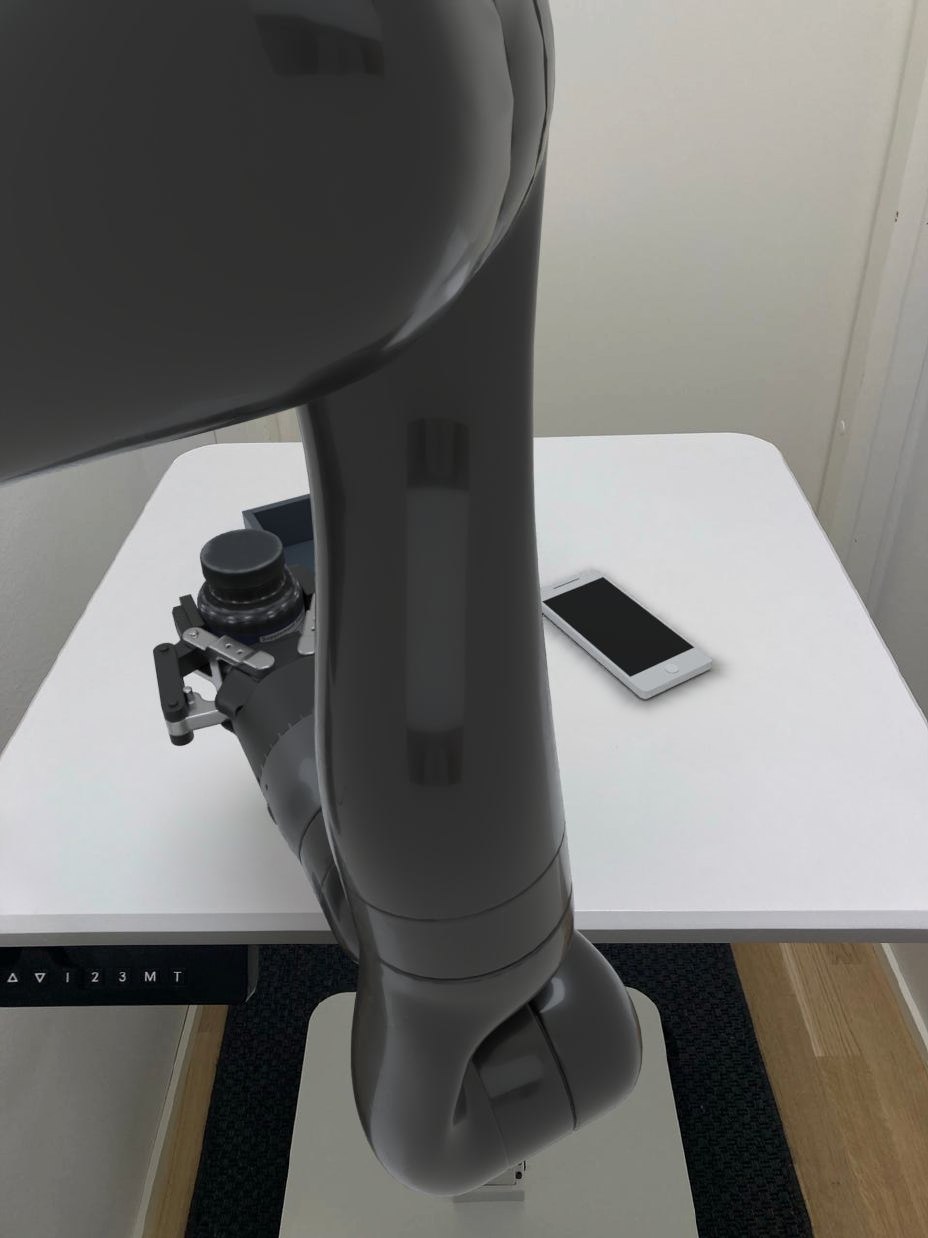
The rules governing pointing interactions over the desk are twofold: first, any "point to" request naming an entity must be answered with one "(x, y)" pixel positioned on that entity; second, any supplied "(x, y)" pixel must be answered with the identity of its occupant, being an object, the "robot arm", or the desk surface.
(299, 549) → the open box
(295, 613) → the pill bottle
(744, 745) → the desk surface
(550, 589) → the smartphone
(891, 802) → the desk surface
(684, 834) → the desk surface
